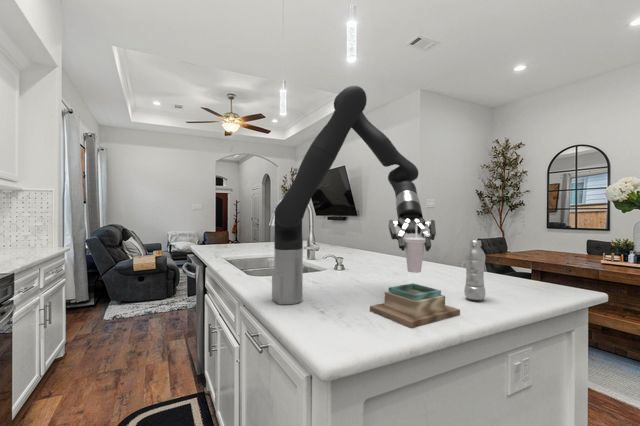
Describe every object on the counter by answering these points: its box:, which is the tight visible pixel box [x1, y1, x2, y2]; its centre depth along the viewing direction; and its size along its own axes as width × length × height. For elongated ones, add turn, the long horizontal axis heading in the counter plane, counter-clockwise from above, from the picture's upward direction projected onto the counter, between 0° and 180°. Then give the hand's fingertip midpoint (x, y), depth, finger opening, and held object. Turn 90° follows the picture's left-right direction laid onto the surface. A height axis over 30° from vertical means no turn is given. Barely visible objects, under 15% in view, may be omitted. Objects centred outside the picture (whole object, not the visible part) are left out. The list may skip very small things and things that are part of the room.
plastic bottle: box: [464, 239, 487, 301], centre depth 108 cm, size 6×7×20 cm
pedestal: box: [369, 283, 461, 329], centre depth 94 cm, size 20×16×7 cm
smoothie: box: [404, 224, 426, 274], centre depth 94 cm, size 6×6×14 cm
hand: (415, 249), depth 92 cm, fingers closed on smoothie, 6 cm apart
